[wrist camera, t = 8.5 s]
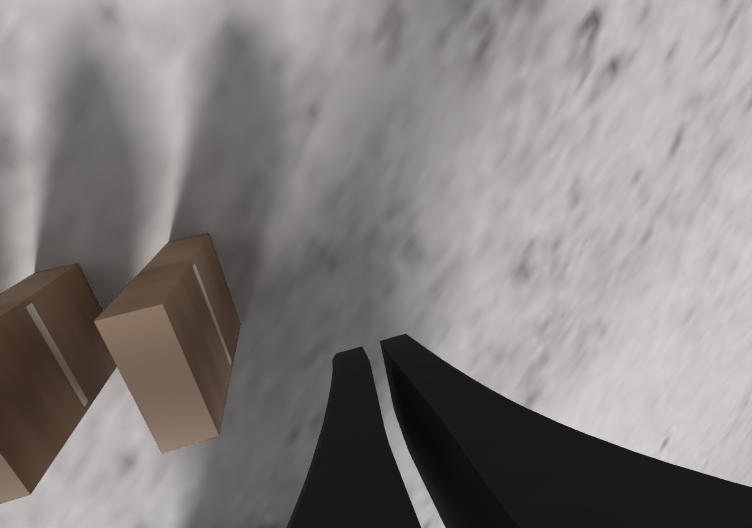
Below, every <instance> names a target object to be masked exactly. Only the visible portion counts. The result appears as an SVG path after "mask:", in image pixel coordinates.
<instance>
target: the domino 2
mask: <svg viewBox="0 0 752 528" xmlns="http://www.w3.org/2000/svg"><path fill="white" fill-rule="evenodd" d="M94 322H95V324H96V326H97V328H98V330H99V332H100V334H101V336H102V338H103V340H104V342H105V344H106V346H107V348H108V350H109V352H110V354H111V356H112V358H113V359H114V361H115V363H116V365H117V367H118V369H119V371H120V373H121V375H122V377H123V379H124V381H125V383H126V385H127V387H128V389H129V391H130V393H131V394H132V396H133V398H134V400H135V402H136V404H137V406H138V408H139V410H140V412H141V414H142V416H143V418H144V420H145V422H146V424H147V426H148V428H149V430H150V431H151V433H152V435H153V437H154V439H155V441H156V443H157V445H158V447H159V449H160V451H161V453H166V452H169V451H172V450H175V449H179V448H182V447H185V446H189V445H192V444H195V443H198V442H202V441H205V440H208V439H211V438H215V437H218V436H219V434H220V429H221V424H222V418H223V413H224V408H225V403H226V398H227V392H228V387H229V382H230V377H231V372H232V366H233V361H234V356H235V351H236V346H237V340H238V335H239V330H240V325H241V323H240V320H239V317H238V315H237V312H236V309H235V306H234V303H233V300H232V298H231V295H230V292H229V289H228V286H227V283H226V281H225V278H224V275H223V272H222V269H221V266H220V264H219V261H218V258H217V255H216V252H215V249H214V246H213V244H212V241H211V238H210V235H209V233H206V234H202V235H197V236H193V237H188V238H184V239H179V240H175V241H171V242H168V243H167V244H166V245H165V246H164V247H163V248H162V249H161V251H160V252H159V253H158V254H157V255H156V256H155V257H154V258H153V259H152V260H151V261H150V262H149V263H148V264H147V265H146V266H145V267H144V269H143V270H142V271H141V272H140V273H139V274H138V275H137V276H136V277H135V278H134V279H133V280H132V281H131V282H130V283H129V284H128V285H127V287H126V288H125V289H124V290H123V291H122V292H121V293H120V294H119V295H118V296H117V297H116V298H115V299H114V300H113V301H112V302H111V303H110V305H109V306H108V307H107V308H106V309H105V310H104V311H103V312H102V313H101V314H100V315H99V316H98V317H97V318H96V319H95V320H94Z"/></svg>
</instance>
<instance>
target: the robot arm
mask: <svg viewBox="0 0 752 528" xmlns="http://www.w3.org/2000/svg"><path fill="white" fill-rule="evenodd" d="M380 344H381V349H382V354H383V358H384V363H385V368H386V373H387V378H388V383H389V388H390V392H391V397H392V402H393V407H394V411H395V414H396V417H397V420H398V423H399V426H400V428H401V431H402V434H403V437H404V440H405V442H406V445H407V448H408V451H409V453H410V455H411V457H412V459H413V461H414V463H415V465H416V467H417V469H418V472H419V474H420V476H421V478H422V480H423V482H424V484H425V486H426V488H427V490H428V492H429V494H430V496H431V498H432V500H433V503H434V505H435V507H436V509H437V511H438V513H439V515H440V517H441V519H442V521H443V523H444V525H445V527H446V528H752V487H749V486H745V485H741V484H738V483H734V482H730V481H727V480H724V479H720V478H717V477H714V476H710V475H707V474H703V473H700V472H697V471H693V470H690V469H687V468H683V467H680V466H677V465H673V464H670V463H667V462H664V461H661V460H658V459H655V458H652V457H649V456H646V455H643V454H640V453H637V452H634V451H631V450H628V449H625V448H623V447H620V446H617V445H615V444H612V443H609V442H607V441H604V440H601V439H598V438H596V437H593V436H590V435H588V434H585V433H583V432H580V431H578V430H575V429H573V428H570V427H568V426H565V425H563V424H561V423H558V422H556V421H554V420H552V419H550V418H547V417H545V416H543V415H541V414H538V413H536V412H534V411H532V410H530V409H527V408H525V407H523V406H521V405H519V404H517V403H515V402H513V401H511V400H509V399H507V398H506V397H504V396H502V395H500V394H498V393H496V392H495V391H493V390H491V389H489V388H487V387H486V386H484V385H482V384H480V383H479V382H477V381H475V380H474V379H472V378H471V377H469V376H467V375H466V374H464V373H463V372H461V371H459V370H458V369H456V368H455V367H453V366H451V365H450V364H448V363H447V362H445V361H444V360H442V359H441V358H439V357H438V356H437V355H435V354H434V353H432V352H431V351H429V350H428V349H426V348H425V347H424V346H422V345H421V344H420V343H418V342H417V341H415V340H414V339H413V338H411V337H410V336H408V335H406V334H403V335H400V336H396V337H393V338H389V339H386V340H382V341H380ZM332 361H333V372H332V382H331V388H330V394H329V399H328V404H327V408H326V413H325V417H324V422H323V426H322V429H321V433H320V436H319V439H318V443H317V446H316V449H315V453H314V456H313V459H312V463H311V466H310V468H309V471H308V474H307V477H306V480H305V483H304V485H303V488H302V491H301V493H300V496H299V498H298V501H297V503H296V506H295V508H294V511H293V513H292V516H291V518H290V521H289V523H288V525H287V527H286V528H421V526H420V523H419V521H418V518H417V516H416V513H415V511H414V508H413V505H412V503H411V500H410V498H409V495H408V493H407V490H406V488H405V485H404V482H403V480H402V477H401V474H400V472H399V469H398V466H397V464H396V461H395V459H394V456H393V453H392V451H391V448H390V445H389V442H388V439H387V435H386V432H385V428H384V424H383V419H382V415H381V410H380V406H379V401H378V397H377V392H376V388H375V383H374V379H373V374H372V370H371V365H370V361H369V359H368V357H367V355H366V353H365V351H364V349H363V347H358V348H355V349H351V350H348V351H344V352H341V353H337V354H336V355H335V356H334V358H333V359H332Z"/></svg>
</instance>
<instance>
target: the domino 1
mask: <svg viewBox="0 0 752 528" xmlns="http://www.w3.org/2000/svg"><path fill="white" fill-rule="evenodd" d="M102 312H103V311H102V309H101V307H100V305H99V303H98V301H97V299H96V297H95V295H94V293H93V292H92V290H91V288H90V286H89V284H88V282H87V280H86V278H85V276H84V274H83V272H82V270H81V268H80V266H79V264H78V263H77V264H73V265H68V266H64V267H60V268H55V269H51V270H47V271H42V272H38V273H34V274H32V275H31V276H29V277H27V278H26V279H24V280H22V281H21V282H19V283H17V284H16V285H14V286H12V287H11V288H9V289H7V290H6V291H4V292H2V293H1V294H0V504H2V503H5V502H8V501H11V500H15V499H18V498H21V497H24V496H28V495H31V493H32V492H33V490H34V489H35V487H36V486H37V484H38V483H39V481H40V480H41V478H42V477H43V475H44V474H45V472H46V471H47V469H48V468H49V466H50V465H51V463H52V462H53V460H54V459H55V457H56V456H57V454H58V453H59V452H60V450H61V449H62V447H63V446H64V444H65V443H66V441H67V440H68V438H69V437H70V435H71V434H72V432H73V431H74V429H75V428H76V426H77V425H78V423H79V422H80V420H81V419H82V417H83V416H84V414H85V413H86V411H87V410H88V409H89V407H90V406H91V404H92V403H93V401H94V400H95V398H96V397H97V395H98V394H99V392H100V391H101V389H102V388H103V386H104V385H105V383H106V382H107V380H108V379H109V377H110V376H111V374H112V373H113V371H114V370H115V369H116V367H117V365H116V363H115V361H114V359H113V358H112V356H111V354H110V352H109V350H108V348H107V346H106V344H105V342H104V340H103V338H102V336H101V334H100V332H99V330H98V328H97V326H96V324H95V322H94V320H95V319H96V318H97V317H98V316H99V315H100V314H101V313H102Z"/></svg>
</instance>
